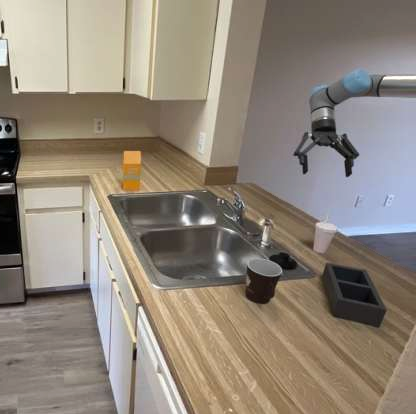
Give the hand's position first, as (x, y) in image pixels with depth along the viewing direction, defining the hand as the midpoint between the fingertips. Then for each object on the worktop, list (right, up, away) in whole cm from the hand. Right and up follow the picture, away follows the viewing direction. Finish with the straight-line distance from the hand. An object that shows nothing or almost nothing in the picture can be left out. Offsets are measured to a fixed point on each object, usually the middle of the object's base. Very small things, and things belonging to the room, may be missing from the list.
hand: (326, 174), depth 116 cm
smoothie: (-2, -27, 0) cm, 27 cm away
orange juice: (-63, -1, +61) cm, 87 cm away
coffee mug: (-36, -38, -24) cm, 58 cm away
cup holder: (-11, -38, -24) cm, 46 cm away
